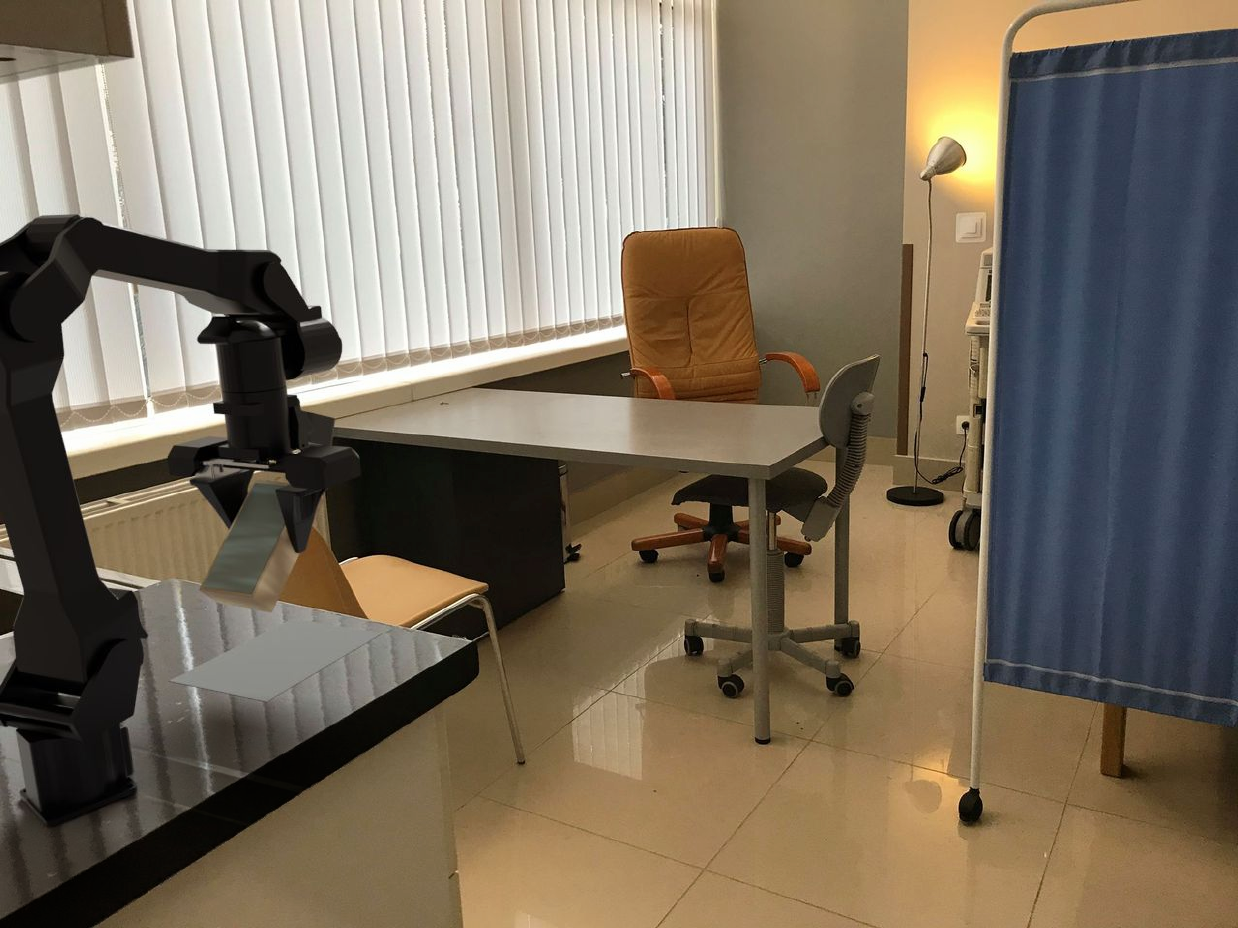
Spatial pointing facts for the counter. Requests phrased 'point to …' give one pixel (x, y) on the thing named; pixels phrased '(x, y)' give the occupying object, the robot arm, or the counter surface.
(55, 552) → the robot arm
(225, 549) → the tile
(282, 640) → the mat
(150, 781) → the counter surface
